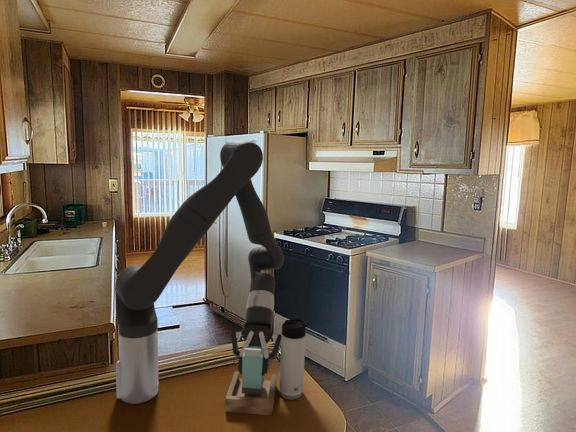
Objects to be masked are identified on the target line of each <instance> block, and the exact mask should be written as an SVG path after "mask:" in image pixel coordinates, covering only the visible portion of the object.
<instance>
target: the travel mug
mask: <svg viewBox="0 0 576 432" xmlns="http://www.w3.org/2000/svg"><path fill="white" fill-rule="evenodd" d="M308 323H309V322H308V321H305V320H303V319H300V318H292V319H287V320H286V321H284V322H283V323H282V325H281V335H282V336H281V345H280V361H279V363H280V364H279V382H278V383H279V385H278V386H279V389H278V393H279V395H280V396H281V397H282V398H284V399H286V400H297V399H299V398H301V397H302V396H303V395H304V393H303V392H304V375H305V360H306V359H305V356H306V354H305V353H306V339H307V338H306V331H307V327H308V325H309V324H308Z"/></svg>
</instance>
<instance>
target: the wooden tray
mask: <svg viewBox="0 0 576 432" xmlns="http://www.w3.org/2000/svg"><path fill="white" fill-rule="evenodd" d="M277 376H278V375H277V374H275V373H272V374H271V379H270V380H266V379H265V380H264V382H263V386H262V391H261V395H260V394H246V393H242V378H240V372H239V371H238V370H236V371H234V372H233V375H232V379H231V382H230V385H229V387H228V391H227V393H226V394H225V395H226V396H225V399H224V400H225V401H224V402H225V403H224V406H225V407H224V413H237V414H251V415H264V416H273V409H274V404H275V396H276V391H277V390H276V389H277Z"/></svg>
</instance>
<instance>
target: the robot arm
mask: <svg viewBox="0 0 576 432" xmlns="http://www.w3.org/2000/svg"><path fill="white" fill-rule="evenodd" d="M219 158H220V159H219V160H220V162H221V163H220V164H221V166H222V169H221V170H220V172H219V173H218V174H217V175H216V176H214V178H213V179H212V180H210V181H209V182H208V183H206V185H203V186H202V187H201V188H199V189H198V190H196V191H195V192H194V193H193V194H191V195H189V197H187V198H186V199H185V201H183V203H182V204H181V205H180V206H179V208H178V209H177V210H176V211H175V212H174V214H172V216H171V218H170V220H169V221H168V223H167V225H166V227H165V229H164V231H163V233H162V236H161V237H160V240H159V242H158V244H157V246H156V248H155V250H154V252H152V254H151V256H149V258H147V260H146V261H145V262H144V264H142V265H140V264H132V265H128V266H127V267H125V268H123V270H121V271H120V272H119V274H118V275H117V277H116V279H115V280H116V281H115V285H114V287H115V289H114V291H115V293H114V294H115V313H116V315H115V316H116V322H117V329H118V330H117V331H118V360H117V361H116V362H115V383H116V384H115V385H116V386H115V387H116V389H115V390H116V399H119V400H121V401H123V402H124V403H126V404H132V405H134V404H142V403H145V402H148V401H150V400H153V398H154V397H156V396H157V395H158V394H159V393H158V392H159V337H158V336H159V333H158V332H159V331H158V330H159V326H158V325H159V323H158V317H157V312H156V309H155V303H156V302H157V300H159V298H160V297H161V295H162V294H163V292H164V290H165V288H166V287H167V285H168V284H169V282H170V281H171V279H172V278H173V276H174V274H175V273H176V271H177V270H178V269H179V267H180V266H181V264H182V263H183V262H184V261H185V260H186V258H187V257H188V256H189V255H190V253H191V252H192V251H193V250H194V248H195V247H196V246H197V244H198V243H199V242H200V241H201V240H202V239H203V237H204V236H205V235H206V233H208V231H209V230H210V228H211V227H212V226H213V225H214V223H215V221H217V219H218V218H219V217H220V215H221V214H222V213H223V211H224V210H225V209H226V208H227V207H228V205H229V204H230V203H231V201H232V200H233V198H234V197H235V199H236V201H237V204H238V206H239V210H240V212H241V213H240V214H241V216H242V218H243V219H242V220H243V223H244V226H245V230H246V233H247V238H248V240H249V242H250V243H251V244H254V245H258V246H259V245H260V247H254V248H252V249H251V250H250V251H249V253H248V258H247V259H248V265H249V273H250V286H249V287H250V288H249V295H248V298H247V301H246V309H245V317H244V323H243V327H242V329H241V331H231V332H230V333H231V334H230V336H231V345H232V353H233V355H234V357H236V358H238V366H237V369H238V370H237V371H238V372H239V375H242V360H243V354H244V349H245V348H248V347H249V346H262V349H264V359H263V365H262V376H264V377H265V375H267V374H268V372H269V362H270V361H271V360H275V359H277V356H278V353H279V350H280V349H281V336H282V334H276V333H274V332H273V320H274V312H275V307H274V306H275V290H276V279H275V277H274V276H273V275H272V274H269V273H266V272H262V271H273V270H279V269H281V268H282V266H284V261H285V255H284V252H283V249H282V248H281V246H280V244H279V243H278V241H277V239H276V238H275V236H274V234H273V232H272V229H271V228H272V227H271V224H270V220H269V216H268V213H267V210H266V207H265V205H264V204H263V203H262V201H261V199H260V197H259V195H258V194H257V191H256V189H255V187H254V184H253V182H252V178H253V177H254V176H255V175H256V174H257V173H258V172H259V170H260V168H261V167H262V165H263V161H264V155H263V150H262V148H261V147H260V146H259V145H258V144H257V143H255V142H252V141H247V140H237V139H235V140H230V141H227V142H225V144H224V145H222V148H220V153H219ZM241 337H242V338H243V341H244V343H243V346H242V348H241V350H239V345H238V342H239V341H240V339H241ZM271 340H273V343H274V346H273V347H272V348H273V349H272V350H271V352H270V353H269V351H268V347H267V345H268V343H269V342H270V341H271Z"/></svg>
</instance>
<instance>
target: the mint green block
mask: <svg viewBox="0 0 576 432" xmlns="http://www.w3.org/2000/svg"><path fill="white" fill-rule="evenodd" d="M263 359H264V349H262V346H249V347H248V348H245V349H244V354H243V360H242V374H241V379H242V393H246V394H260V395H261V391H262V386H263V382H264V378H265V376H262V365H263Z"/></svg>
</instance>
